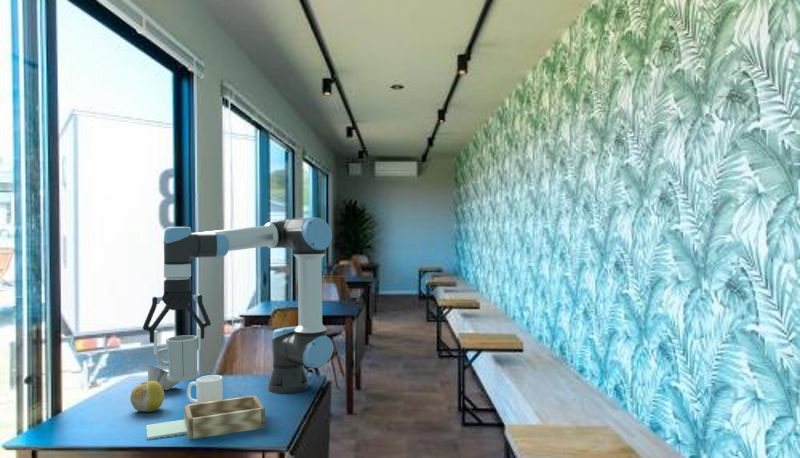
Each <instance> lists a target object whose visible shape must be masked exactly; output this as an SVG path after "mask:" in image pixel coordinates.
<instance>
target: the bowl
mask: <svg viewBox="0 0 800 458" xmlns="http://www.w3.org/2000/svg"><path fill="white" fill-rule="evenodd" d="M168 373H169V371H167V370H164V369H163V368H159V367H156V366H152V365H149V366H147V381H156V382H158V383H160V385H161V386H162V388H163V390H165V391H168V390H170V389H172V388H173V387H175V386H176V385H178V384H180V382H172V381H169V380H168V379H167V374H168Z"/></svg>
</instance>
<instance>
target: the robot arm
mask: <svg viewBox="0 0 800 458" xmlns="http://www.w3.org/2000/svg"><path fill="white" fill-rule="evenodd" d="M332 234H333V233H332V229H331V227H330V226H329V223H328V222H326V221H325V219H323V218H320V217H313V216H310V217H292V218H286V219H283V220H278V221H272V222H267V223H265V224H264V225H261V226H250V227H249V226H248V227H239V228H230V229H220V230H219V229H218V230H209V231H202V232H201V231H200V232H192V228H191V227H189V226H167V227H166V228H165V229H164V234H163V242H162V243H163V259H164V260H163V277H164V278H165V279H164V280H163V295H162V296H155V295H153V296H152V299H151V305H150V309H149V311H148V313H147V315H146V318H145V320H144V323H143V325H142V329H143V331H148V332H149V343H150V344H153V355H156V356H157V351H158V330H156V329H157V328H158V327H159V325H160V323H161V322H162V321H163V319H164V318H165V317H166V315H168V313H169V311H170V310H171V311H177V310H179V311H180V310H181V311H182V310H183V311H184V310H185V309H186V310H187V312H188V313H189V314H190V315H191V317H192V318H193V320H194V321H195V322H196V323H197V325H198V326H199V327H196V336H197V337H198V340H197V352H198V351H199V352H200V351H201V349H202V348H201V344H202V343H201V342H202V341H201V340H203V339H205V328H207V327H209V326H211V320H210V318H209V315H208V313H207V311H206V308H205V306H204V303H203V295H202V294H201V293H198V294H192V280H191V277H192V259H196V258H204V259H205V258H216V259H217V258H220V257H221V258H223V257H225V256H226V255H227V254H228V253H229V252H231V251H241V250H248V249H255V248H256V249H257V248H265V247H267V248H269V249H282V248H283V249H292V250H293V252H292V253H293V254H292V255H293V256H294V257H295V258H296V259H297V304H298V306H297V310H298V311H297V312H298V315H297V316H298V323H297V324H298V325H297V326H288V327H287V326H285V327H281V328H276V329H274V330H273V331H272V335H271V342H272V344H271V345H272V347H271V348H272V351H271V352H272V370H271V373H270V376H269V379H268V383H267V389H268V391H269V392H271V393H274V394H294V393H299V392H303V391H305V390H308V388H309V385H310V384H309V379H308V375H307V373H306V369H305V367H307V368H313V369H318V368H322V367H324V366H325V365H326V364H327V363H328V362H329V360H330V359H331V358H332V356H333V352H334V343H333V341H332V340H331V338H329V337H328V336H327V327H325V325H324V324H323V287H322V286H323V283H322V282H323V279H322V276H323V275H322V274H323V272H322V270H323V269H322V267H323V266H322V259H323V258H324V257H325V256H326V254H327V253H326V252H327V251H326V249H327V248H329V246H330V244H331V242H332V239H333V235H332ZM192 300H194V301H195V303H197V306H198V308H199V311H200V313H201V316H202V318H203V320H204V322H202V320H201V319H200V318H199V316H198V315H197V314H196V312H195V311H194V310H193V308H192V307H191V306H190V304H191V302H192ZM161 302H163V304H165V306H164V307H163V308H162V310H161V312H160V313H159V315H158V316H157V317H156V319H155V320H154V321H153V323H152V324H151V322H152V319H153V316H154V313H156V309H157V307H158V305H159V304H160V303H161ZM150 324H151V325H150Z"/></svg>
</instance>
